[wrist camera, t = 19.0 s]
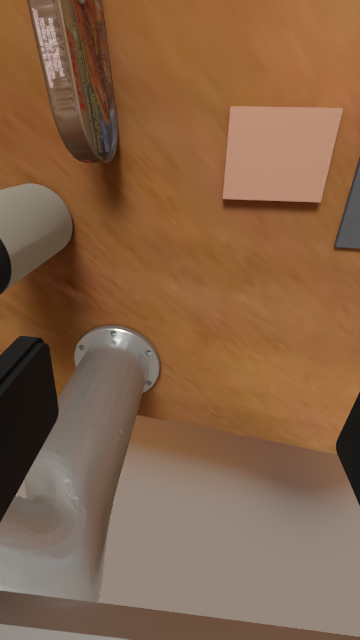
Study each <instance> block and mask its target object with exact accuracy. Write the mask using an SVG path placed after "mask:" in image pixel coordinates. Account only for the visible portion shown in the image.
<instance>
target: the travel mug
mask: <svg viewBox="0 0 360 640" xmlns="http://www.w3.org/2000/svg"><path fill="white" fill-rule="evenodd" d="M72 229H73V226H72V219H71V215H70V213H69V210H68V208H67V206H66V205H65V203H64V202H63V201H62V199H61V198H60V197H59V196H58V195H57V194H56V193H54V192H53V191H52V190H50V189H48V188H46V187H44V186H42V185H38V184H31V183H30V184H23V185H18V186H14V187H10V188H6V189H2V190H0V294H2V293H3V292H4V291H6V290H7V289H8V288H10V287H11V286H13V285H14V284H15V283H17V282H18V281H19V280H21V279H22V278H23V277H25V276H26V275H28V274H29V273H30V272H32V271H33V270H34V269H36V268H37V267H38V266H40V265H41V264H43V263H44V262H45V261H47V260H48V259H49V258H51V257H52V256H54V255H55V254H56V253H58V252H59V251H60V250H62V249H63V248H64V247H65V246H66V245H67V244H68V242H69V241H70V238H71V235H72Z"/></svg>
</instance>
